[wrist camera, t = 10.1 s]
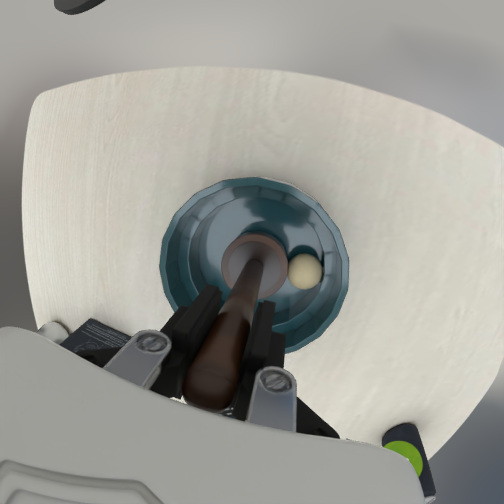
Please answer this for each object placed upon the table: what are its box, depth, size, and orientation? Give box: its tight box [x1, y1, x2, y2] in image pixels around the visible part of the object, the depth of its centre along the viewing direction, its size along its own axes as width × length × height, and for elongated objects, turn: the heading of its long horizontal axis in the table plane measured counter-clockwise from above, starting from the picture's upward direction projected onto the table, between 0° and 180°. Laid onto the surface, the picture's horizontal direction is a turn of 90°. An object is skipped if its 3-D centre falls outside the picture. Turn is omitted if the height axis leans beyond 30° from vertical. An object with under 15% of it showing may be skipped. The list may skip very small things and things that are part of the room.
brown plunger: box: [182, 231, 288, 414], centre depth 16 cm, size 6×6×19 cm
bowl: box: [159, 176, 349, 354], centre depth 24 cm, size 15×15×6 cm
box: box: [59, 319, 132, 353], centre depth 28 cm, size 8×6×11 cm
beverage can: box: [382, 424, 436, 504], centre depth 24 cm, size 6×6×15 cm
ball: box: [287, 253, 322, 289], centre depth 24 cm, size 3×3×3 cm
